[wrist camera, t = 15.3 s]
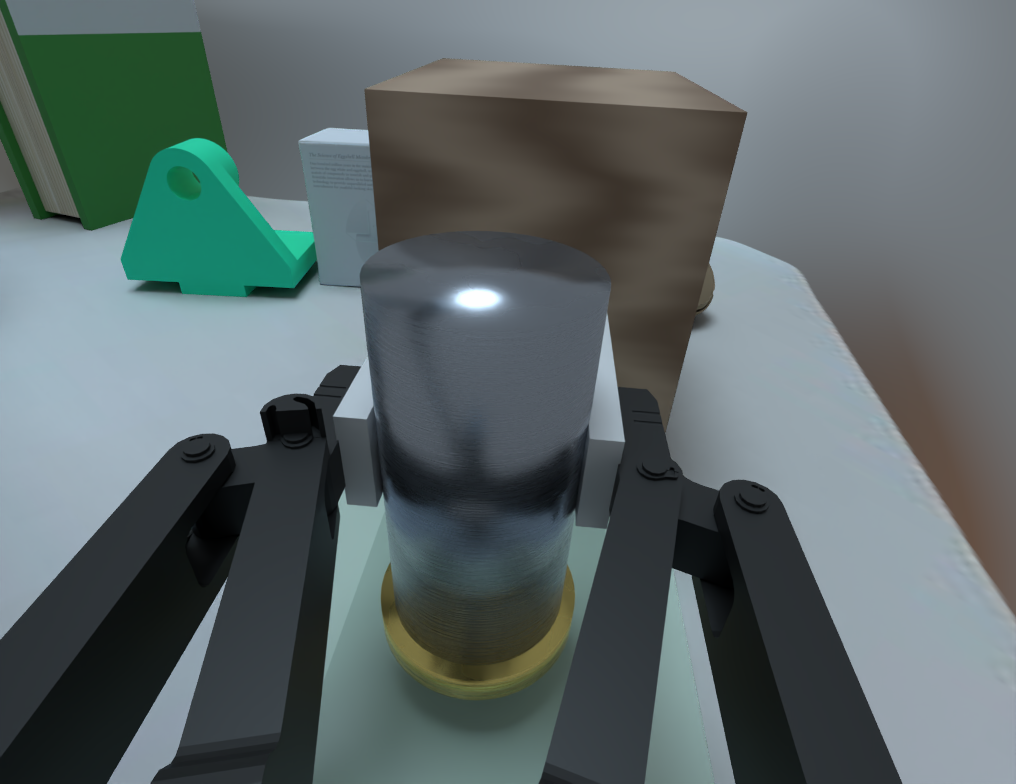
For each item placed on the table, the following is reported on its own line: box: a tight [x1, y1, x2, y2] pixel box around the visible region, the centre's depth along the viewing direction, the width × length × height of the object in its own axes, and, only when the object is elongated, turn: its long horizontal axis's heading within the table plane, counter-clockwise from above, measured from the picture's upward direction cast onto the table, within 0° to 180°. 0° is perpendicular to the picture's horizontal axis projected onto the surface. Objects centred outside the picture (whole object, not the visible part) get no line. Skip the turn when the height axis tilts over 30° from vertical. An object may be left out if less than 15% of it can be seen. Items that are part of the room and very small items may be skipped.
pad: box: [313, 489, 715, 784], centre depth 19 cm, size 14×14×1 cm
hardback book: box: [0, 0, 227, 231], centre depth 52 cm, size 18×7×24 cm, turn 159°
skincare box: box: [298, 128, 379, 287], centre depth 43 cm, size 10×6×10 cm, turn 86°
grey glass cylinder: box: [360, 231, 611, 700], centre depth 14 cm, size 6×6×11 cm
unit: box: [365, 58, 747, 432], centre depth 28 cm, size 13×14×16 cm
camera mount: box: [121, 138, 317, 297], centre depth 42 cm, size 12×8×10 cm, turn 89°
